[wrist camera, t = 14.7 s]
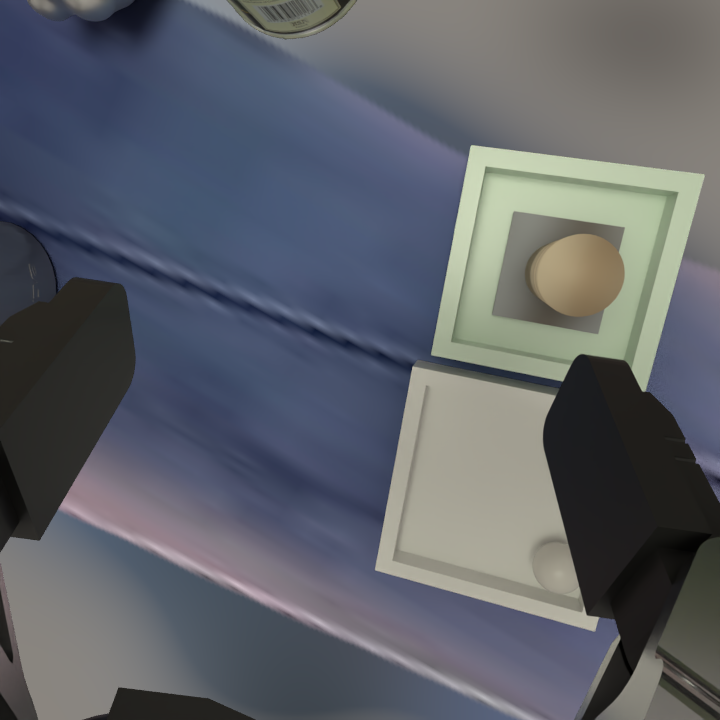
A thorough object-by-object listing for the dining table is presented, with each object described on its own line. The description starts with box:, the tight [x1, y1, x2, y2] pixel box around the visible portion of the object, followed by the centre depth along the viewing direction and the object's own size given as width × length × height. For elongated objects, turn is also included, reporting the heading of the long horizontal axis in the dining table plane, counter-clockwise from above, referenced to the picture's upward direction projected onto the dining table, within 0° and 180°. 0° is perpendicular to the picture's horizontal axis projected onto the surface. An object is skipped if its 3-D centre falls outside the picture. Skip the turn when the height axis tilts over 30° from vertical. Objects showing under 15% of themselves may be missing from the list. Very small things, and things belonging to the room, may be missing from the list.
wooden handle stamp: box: [492, 211, 625, 334], centre depth 28 cm, size 6×6×10 cm
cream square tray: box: [375, 360, 599, 632], centre depth 36 cm, size 14×14×2 cm
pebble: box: [532, 542, 579, 594], centre depth 34 cm, size 3×3×3 cm
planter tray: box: [431, 145, 705, 392], centre depth 33 cm, size 12×12×3 cm
